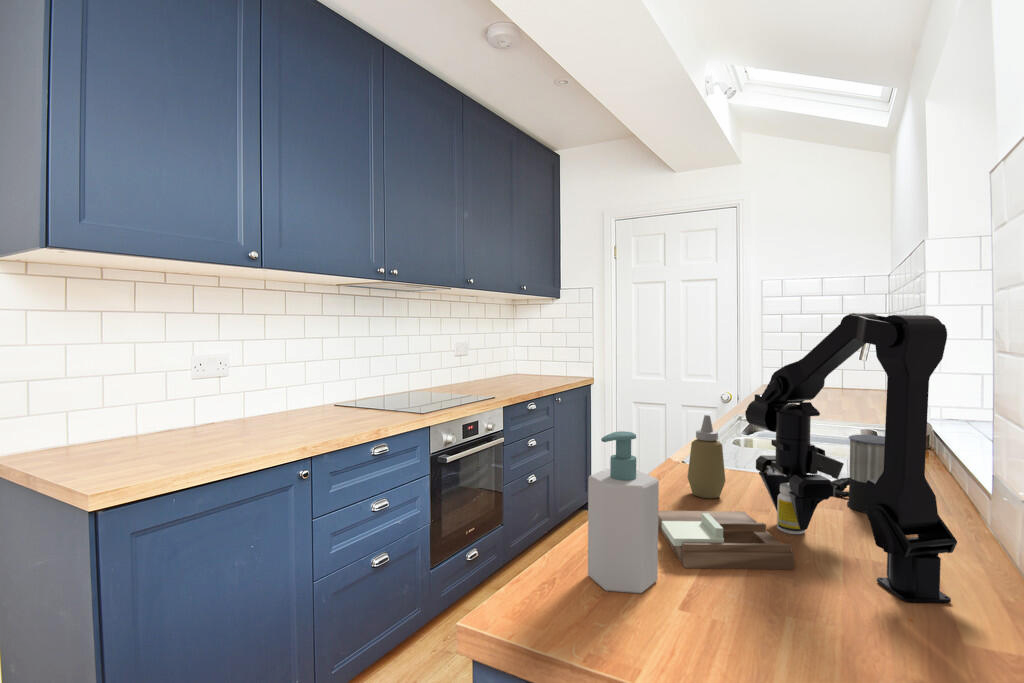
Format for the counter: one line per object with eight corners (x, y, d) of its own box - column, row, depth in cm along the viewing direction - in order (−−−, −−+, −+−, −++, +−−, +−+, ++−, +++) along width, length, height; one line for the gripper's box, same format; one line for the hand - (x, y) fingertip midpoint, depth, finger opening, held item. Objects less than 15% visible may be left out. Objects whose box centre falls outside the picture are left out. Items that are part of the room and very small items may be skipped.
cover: (723, 546, 90) (724, 529, 90) (673, 545, 90) (673, 528, 90) (707, 528, 98) (707, 512, 98) (661, 527, 98) (661, 511, 98)
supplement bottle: (808, 536, 102) (809, 490, 102) (780, 534, 103) (781, 488, 103) (800, 526, 107) (801, 482, 106) (774, 524, 107) (774, 481, 107)
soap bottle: (579, 569, 88) (580, 429, 87) (629, 560, 91) (631, 425, 90) (613, 599, 78) (615, 442, 77) (668, 588, 81) (670, 437, 81)
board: (793, 569, 88) (794, 548, 88) (684, 568, 88) (685, 546, 88) (744, 523, 108) (744, 506, 108) (655, 522, 108) (655, 505, 108)
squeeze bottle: (733, 498, 124) (734, 417, 123) (703, 502, 121) (705, 419, 120) (707, 488, 131) (709, 411, 131) (679, 492, 128) (680, 413, 128)
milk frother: (887, 519, 111) (889, 445, 110) (806, 499, 123) (808, 432, 123) (915, 506, 119) (917, 436, 119) (837, 488, 132) (838, 425, 131)
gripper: (867, 448, 95) (865, 540, 95) (811, 428, 113) (809, 504, 114) (800, 448, 95) (798, 539, 95) (755, 427, 113) (753, 504, 114)
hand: (791, 520), depth 105 cm, fingers open, 9 cm apart
